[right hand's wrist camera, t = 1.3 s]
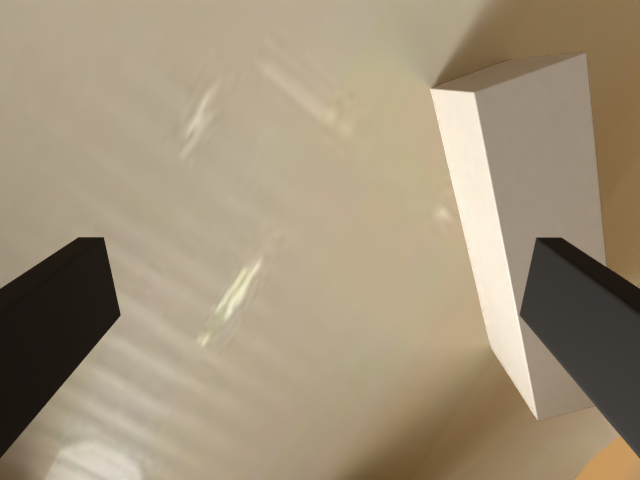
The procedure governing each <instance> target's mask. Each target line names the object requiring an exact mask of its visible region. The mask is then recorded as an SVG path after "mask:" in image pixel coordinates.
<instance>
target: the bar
mask: <svg viewBox="0 0 640 480" xmlns="http://www.w3.org/2000/svg"><path fill="white" fill-rule="evenodd" d="M431 93H432V98H433V102H434V106H435V111H436V115H437V119H438V123H439V128H440V132H441V136H442V141H443V145H444V149H445V154H446V158H447V162H448V166H449V171H450V175H451V179H452V184H453V188H454V192H455V197H456V201H457V205H458V209H459V214H460V218H461V222H462V227H463V231H464V235H465V239H466V244H467V248H468V252H469V257H470V261H471V265H472V270H473V274H474V278H475V282H476V287H477V291H478V295H479V300H480V304H481V308H482V312H483V317H484V321H485V325H486V330H487V334H488V338H489V343H490V347H491V348H492V350H493V351H494V353H495V355H496V356H497V358H498V359H499V361H500V362H501V364H502V366H503V367H504V369H505V370H506V372H507V373H508V375H509V377H510V378H511V380H512V381H513V383H514V384H515V386H516V388H517V389H518V391H519V392H520V394H521V395H522V397H523V399H524V400H525V402H526V403H527V405H528V406H529V408H530V410H531V411H532V413H533V414H534V416H535V417H536V419H537V420H542V419H546V418H550V417H554V416H558V415H562V414H566V413H570V412H574V411H578V410H582V409H586V408H590V407H594V406H595V405H594V403H593V402H592V401H591V400H590V399H589V397H588V396H587V395H586V394H585V393H584V391H583V390H582V389H581V388H580V387H579V386H578V384H577V383H576V382H575V381H574V380H573V378H572V377H571V376H570V375H569V374H568V372H567V371H566V370H565V369H564V368H563V367H562V365H561V364H560V363H559V362H558V361H557V359H556V358H555V357H554V356H553V355H552V353H551V352H550V351H549V350H548V349H547V348H546V346H545V345H544V344H543V343H542V342H541V340H540V339H539V338H538V337H537V336H536V334H535V333H534V332H533V331H532V330H531V329H530V327H529V326H528V325H527V324H526V323H525V321H524V320H523V319H522V318H521V317H520V310H521V305H522V301H523V296H524V292H525V287H526V282H527V278H528V273H529V269H530V264H531V259H532V255H533V250H534V245H535V241H536V237H562V238H563V239H565V240H566V241H568V242H569V243H571V244H572V245H574V246H575V247H577V248H578V249H580V250H581V251H583V252H584V253H586V254H587V255H589V256H591V257H592V258H594V259H595V260H597V261H598V262H600V263H601V264H603V265H604V266H606V267H607V263H606V252H605V242H604V231H603V220H602V210H601V199H600V188H599V178H598V167H597V156H596V145H595V135H594V124H593V113H592V103H591V92H590V81H589V71H588V60H587V52H575V53H566V54H556V55H546V56H537V57H527V58H517V59H509V60H506V61H504V62H501V63H498V64H495V65H493V66H490V67H487V68H484V69H482V70H479V71H476V72H473V73H471V74H468V75H465V76H462V77H460V78H457V79H454V80H451V81H449V82H446V83H443V84H440V85H437V86H435V87H432V88H431Z"/></svg>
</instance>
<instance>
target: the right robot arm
mask: <svg viewBox="0 0 640 480" xmlns="http://www.w3.org/2000/svg"><path fill="white" fill-rule="evenodd" d="M119 317H120V310H119V305H118V301H117V296H116V292H115V287H114V282H113V278H112V273H111V269H110V264H109V259H108V255H107V250H106V245H105V241H104V237H78V238H77V239H75V240H74V241H72V242H71V243H69V244H68V245H66V246H65V247H63V248H62V249H60V250H59V251H57V252H56V253H54V254H53V255H51V256H49V257H48V258H46V259H45V260H43V261H42V262H40V263H39V264H37V265H36V266H34V267H33V268H31V269H30V270H28V271H27V272H25V273H24V274H22V275H21V276H19V277H18V278H16V279H15V280H13V281H11V282H10V283H8V284H7V285H5V286H4V287H2V288H1V289H0V458H1V457H2V456H3V454H4V453H5V452H6V451H7V450H8V448H9V447H10V446H11V445H12V444H13V443H14V441H15V440H16V439H17V438H18V437H19V435H20V434H21V433H22V432H23V431H24V429H25V428H26V427H27V426H28V425H29V424H30V422H31V421H32V420H33V419H34V418H35V416H36V415H37V414H38V413H39V412H40V410H41V409H42V408H43V407H44V406H45V405H46V403H47V402H48V401H49V400H50V399H51V397H52V396H53V395H54V394H55V393H56V391H57V390H58V389H59V388H60V387H61V386H62V384H63V383H64V382H65V381H66V380H67V378H68V377H69V376H70V375H71V374H72V372H73V371H74V370H75V369H76V368H77V367H78V365H79V364H80V363H81V362H82V361H83V359H84V358H85V357H86V356H87V355H88V353H89V352H90V351H91V350H92V349H93V348H94V346H95V345H96V344H97V343H98V342H99V340H100V339H101V338H102V337H103V336H104V334H105V333H106V332H107V331H108V330H109V329H110V327H111V326H112V325H113V324H114V323H115V321H116V320H117V319H118V318H119ZM520 317H521V318H522V319H523V320H524V321H525V323H526V324H527V325H528V326H529V327H530V329H531V330H532V331H533V332H534V333H535V334H536V336H537V337H538V338H539V339H540V340H541V342H542V343H543V344H544V345H545V346H546V348H547V349H548V350H549V351H550V352H551V353H552V355H553V356H554V357H555V358H556V359H557V361H558V362H559V363H560V364H561V365H562V367H563V368H564V369H565V370H566V371H567V372H568V374H569V375H570V376H571V377H572V378H573V380H574V381H575V382H576V383H577V384H578V386H579V387H580V388H581V389H582V390H583V391H584V393H585V394H586V395H587V396H588V397H589V399H590V400H591V401H592V402H593V403H594V405H595V406H596V407H597V408H598V409H599V410H600V412H601V413H602V414H603V415H604V416H605V418H606V419H607V420H608V421H609V422H610V424H611V425H612V426H613V427H614V428H615V429H616V431H617V432H618V433H619V434H620V435H621V437H622V438H623V439H624V440H625V441H626V443H627V444H628V445H629V446H630V447H631V448H632V450H633V451H634V452H635V453H636V454H637V456H638V457H639V458H640V289H639V288H638V287H636V286H635V285H633V284H632V283H630V282H629V281H627V280H625V279H624V278H622V277H621V276H619V275H618V274H616V273H615V272H613V271H612V270H610V269H609V268H607V267H606V266H604V265H603V264H601V263H600V262H598V261H597V260H595V259H594V258H592V257H591V256H589V255H587V254H586V253H584V252H583V251H581V250H580V249H578V248H577V247H575V246H574V245H572V244H571V243H569V242H568V241H566V240H565V239H563V238H562V237H536V241H535V245H534V250H533V255H532V259H531V264H530V269H529V273H528V278H527V282H526V287H525V292H524V296H523V301H522V305H521V310H520Z"/></svg>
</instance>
